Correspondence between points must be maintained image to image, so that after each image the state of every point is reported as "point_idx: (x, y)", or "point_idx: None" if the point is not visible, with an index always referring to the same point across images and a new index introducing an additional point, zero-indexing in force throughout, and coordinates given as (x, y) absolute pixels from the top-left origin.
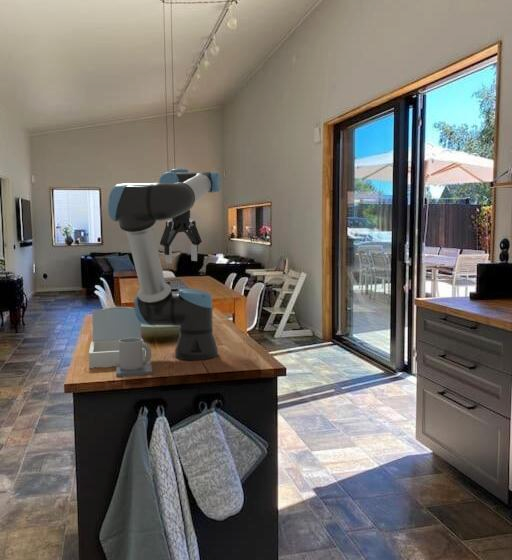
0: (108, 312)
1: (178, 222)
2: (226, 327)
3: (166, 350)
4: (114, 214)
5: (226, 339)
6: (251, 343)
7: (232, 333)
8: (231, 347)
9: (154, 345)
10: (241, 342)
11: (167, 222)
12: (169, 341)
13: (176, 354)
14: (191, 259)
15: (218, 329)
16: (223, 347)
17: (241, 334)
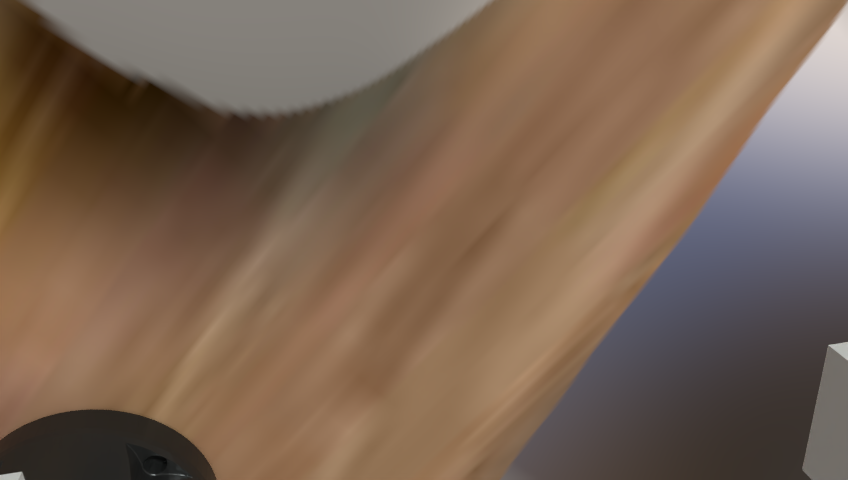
0: None
1: None
2: (785, 11)
3: (8, 317)
4: None
5: (487, 312)
6: (501, 463)
7: (643, 203)
8: (361, 472)
9: (7, 142)
10: (485, 418)
11: None
12: (172, 108)
13: None
14: (844, 368)
15: (697, 26)
16: (330, 450)
17: (650, 263)
